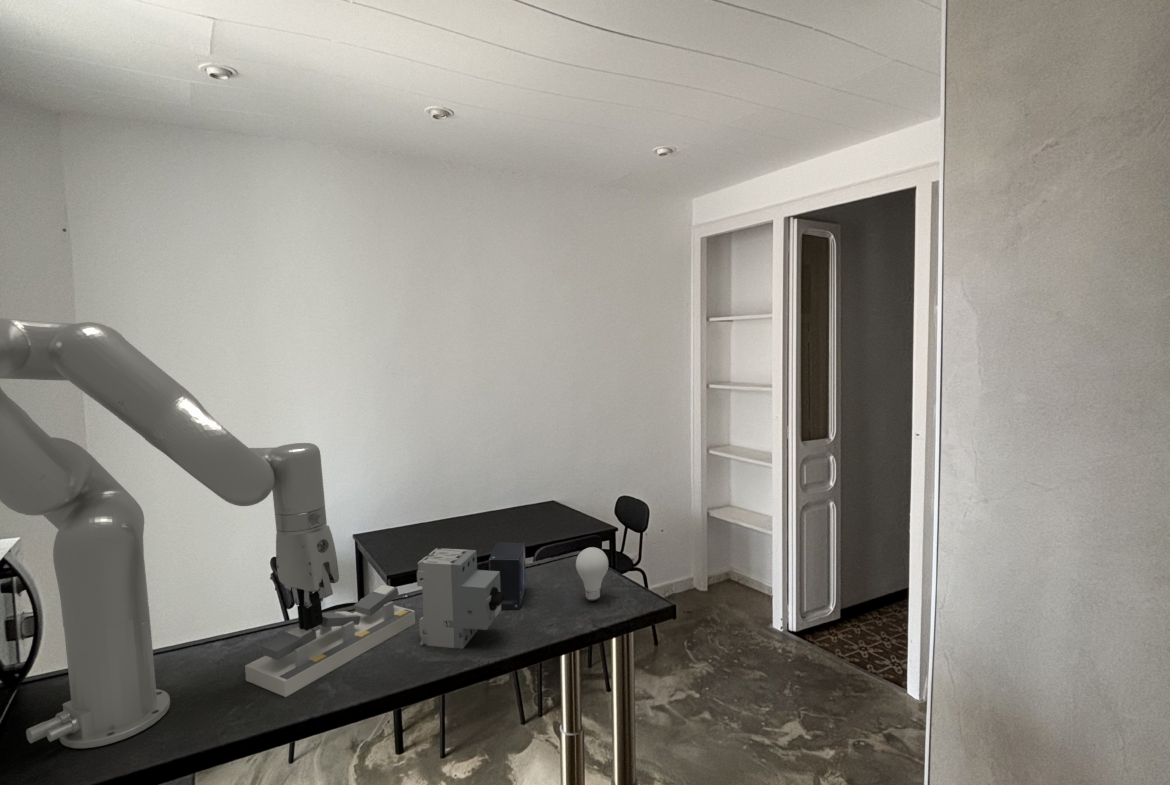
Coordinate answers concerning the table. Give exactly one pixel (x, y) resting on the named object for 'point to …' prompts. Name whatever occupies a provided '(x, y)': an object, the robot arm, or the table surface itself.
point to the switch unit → (328, 650)
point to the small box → (510, 572)
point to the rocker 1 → (287, 642)
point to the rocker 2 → (339, 619)
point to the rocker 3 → (376, 600)
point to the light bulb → (592, 570)
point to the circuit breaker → (456, 597)
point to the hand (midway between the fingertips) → (311, 625)
